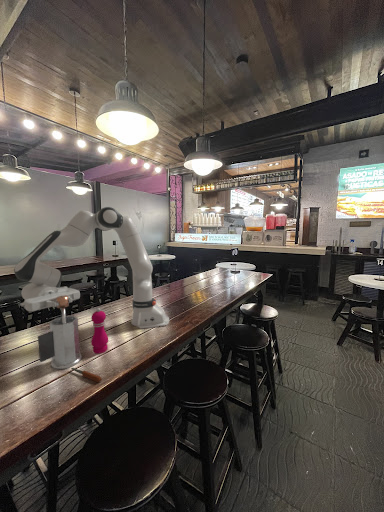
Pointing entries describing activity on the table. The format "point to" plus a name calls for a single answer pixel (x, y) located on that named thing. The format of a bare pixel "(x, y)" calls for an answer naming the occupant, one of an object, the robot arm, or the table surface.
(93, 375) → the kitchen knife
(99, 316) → the pepper mill
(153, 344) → the table surface
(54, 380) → the table surface
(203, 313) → the table surface
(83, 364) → the table surface
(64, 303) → the plunger
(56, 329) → the press
